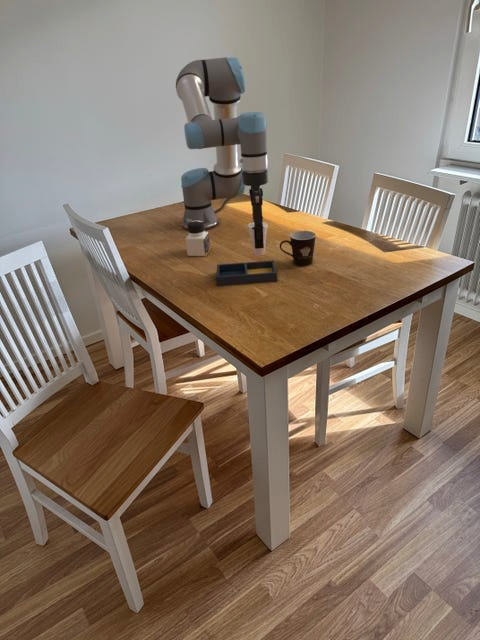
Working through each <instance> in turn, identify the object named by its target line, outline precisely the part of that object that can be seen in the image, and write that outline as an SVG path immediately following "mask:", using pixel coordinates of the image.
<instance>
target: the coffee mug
mask: <svg viewBox="0 0 480 640" xmlns="http://www.w3.org/2000/svg"><path fill="white" fill-rule="evenodd" d="M289 238H290V240H287V239H285V240H282V241H281V242H280V243H279V249H280V250H281V251H282V252H283V253H284V254H286V255H288V256H290V257H292V261H293V264H294V265H295V266H297V267H308V266H311V265H312V264H313V260H314V251H315V244H316V238H317V234H316V232H314V231H311V230H297V231H293V232H292V233H290V234H289ZM284 243H287V244H289V245H290V247H291V253H290V252H287V251H286V250H284V249H283V248H282V245H283V244H284Z"/></svg>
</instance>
